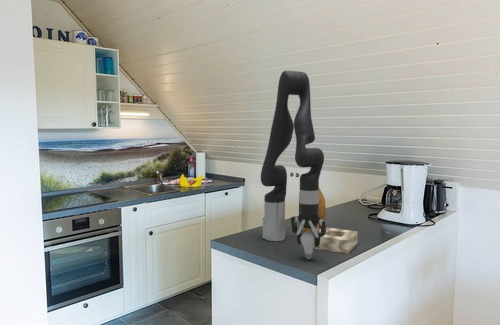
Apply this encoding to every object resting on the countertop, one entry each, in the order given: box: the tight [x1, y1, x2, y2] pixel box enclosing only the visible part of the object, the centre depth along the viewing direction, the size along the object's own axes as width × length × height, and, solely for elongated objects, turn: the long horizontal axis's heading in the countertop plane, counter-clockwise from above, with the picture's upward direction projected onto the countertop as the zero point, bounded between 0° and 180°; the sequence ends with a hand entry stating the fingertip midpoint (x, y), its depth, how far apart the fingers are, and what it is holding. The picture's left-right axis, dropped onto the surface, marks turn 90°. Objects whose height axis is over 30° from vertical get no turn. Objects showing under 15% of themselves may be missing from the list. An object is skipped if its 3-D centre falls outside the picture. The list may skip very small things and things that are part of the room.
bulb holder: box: [313, 226, 359, 255], centre depth 155 cm, size 15×15×6 cm
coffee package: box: [302, 187, 327, 233], centre depth 175 cm, size 10×12×22 cm
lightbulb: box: [300, 231, 316, 261], centre depth 139 cm, size 6×6×11 cm
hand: (308, 245), depth 138 cm, fingers closed on lightbulb, 6 cm apart
